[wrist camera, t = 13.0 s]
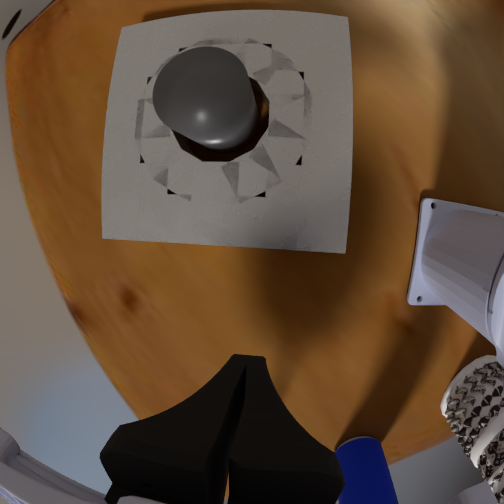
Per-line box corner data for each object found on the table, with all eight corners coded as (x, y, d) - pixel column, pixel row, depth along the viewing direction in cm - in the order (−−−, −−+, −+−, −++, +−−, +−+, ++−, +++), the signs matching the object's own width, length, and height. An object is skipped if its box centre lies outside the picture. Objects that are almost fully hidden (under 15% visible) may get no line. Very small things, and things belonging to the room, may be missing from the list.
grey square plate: (341, 33, 16) (348, 17, 14) (337, 245, 19) (345, 253, 17) (135, 40, 17) (122, 27, 15) (119, 232, 21) (102, 238, 18)
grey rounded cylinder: (262, 91, 18) (253, 46, 11) (255, 155, 19) (243, 136, 12) (197, 89, 18) (161, 49, 11) (189, 150, 19) (146, 134, 12)
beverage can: (329, 441, 23) (343, 571, 9) (379, 427, 23) (415, 551, 8) (335, 466, 24) (347, 578, 10) (379, 454, 24) (407, 562, 9)
